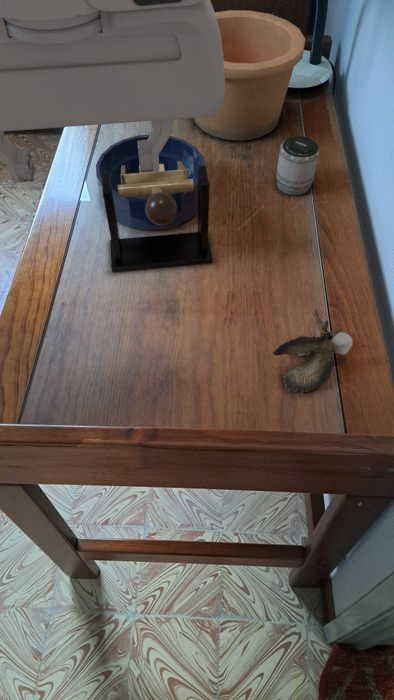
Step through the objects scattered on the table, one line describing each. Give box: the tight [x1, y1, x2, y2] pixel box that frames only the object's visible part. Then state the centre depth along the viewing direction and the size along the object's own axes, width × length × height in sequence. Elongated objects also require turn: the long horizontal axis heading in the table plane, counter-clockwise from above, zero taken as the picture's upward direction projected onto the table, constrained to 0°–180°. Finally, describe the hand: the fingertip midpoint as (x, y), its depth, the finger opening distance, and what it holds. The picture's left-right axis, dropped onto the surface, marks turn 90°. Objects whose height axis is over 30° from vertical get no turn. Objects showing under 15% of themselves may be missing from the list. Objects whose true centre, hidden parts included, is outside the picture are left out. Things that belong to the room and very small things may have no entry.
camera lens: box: [276, 135, 321, 196], centre depth 84 cm, size 6×6×8 cm
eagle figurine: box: [272, 308, 354, 394], centre depth 63 cm, size 8×7×9 cm
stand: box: [102, 166, 213, 273], centre depth 72 cm, size 15×6×14 cm, turn 98°
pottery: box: [193, 9, 306, 141], centre depth 93 cm, size 22×22×14 cm
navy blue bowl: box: [95, 133, 207, 231], centre depth 83 cm, size 17×17×6 cm
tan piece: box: [118, 161, 194, 226], centre depth 66 cm, size 10×25×4 cm, turn 8°
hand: (87, 172), depth 39 cm, fingers open, 8 cm apart
